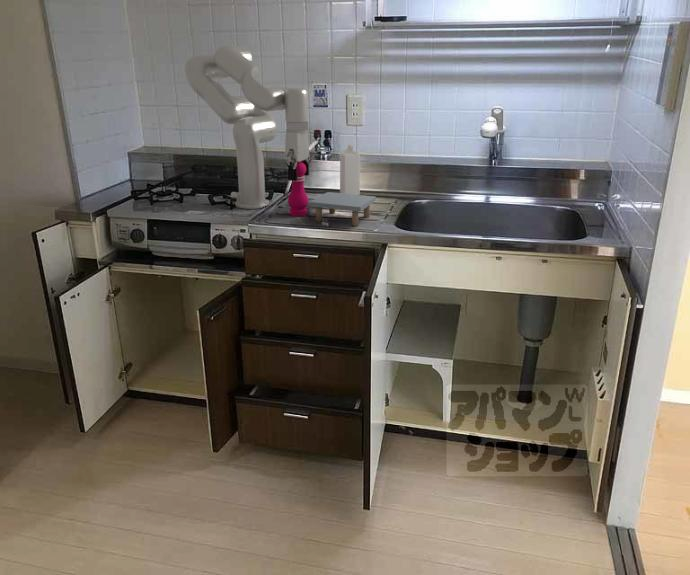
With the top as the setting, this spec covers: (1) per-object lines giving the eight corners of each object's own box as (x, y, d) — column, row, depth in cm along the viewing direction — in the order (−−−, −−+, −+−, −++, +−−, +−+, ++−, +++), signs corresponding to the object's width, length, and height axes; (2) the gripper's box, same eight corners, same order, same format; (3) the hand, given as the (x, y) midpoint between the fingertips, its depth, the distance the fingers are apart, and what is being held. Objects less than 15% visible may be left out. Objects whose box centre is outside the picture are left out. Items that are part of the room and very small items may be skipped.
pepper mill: (305, 217, 209) (304, 159, 202) (285, 216, 210) (284, 158, 203) (310, 212, 216) (310, 155, 208) (291, 210, 217) (290, 155, 210)
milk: (344, 207, 223) (344, 146, 215) (339, 203, 229) (339, 144, 220) (359, 206, 225) (360, 146, 216) (354, 202, 230) (355, 143, 222)
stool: (309, 222, 203) (309, 201, 201) (327, 211, 217) (327, 191, 215) (360, 227, 198) (360, 207, 195) (375, 216, 212) (375, 196, 209)
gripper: (297, 123, 210) (299, 172, 217) (275, 129, 195) (277, 181, 202) (317, 124, 208) (318, 174, 214) (296, 130, 193) (298, 183, 199)
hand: (298, 177), depth 208 cm, fingers open, 9 cm apart
